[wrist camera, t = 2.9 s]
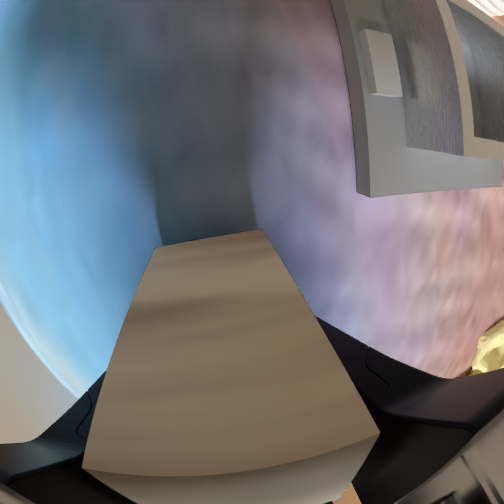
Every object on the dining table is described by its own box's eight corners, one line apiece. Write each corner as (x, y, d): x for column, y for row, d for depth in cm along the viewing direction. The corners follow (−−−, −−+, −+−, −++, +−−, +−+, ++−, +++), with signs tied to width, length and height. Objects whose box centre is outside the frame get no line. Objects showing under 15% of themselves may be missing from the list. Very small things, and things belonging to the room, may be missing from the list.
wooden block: (272, 316, 13) (339, 498, 5) (181, 332, 12) (176, 522, 4) (261, 228, 11) (380, 432, 3) (155, 247, 11) (82, 467, 2)
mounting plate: (489, 182, 13) (507, 188, 11) (356, 192, 12) (377, 201, 10) (470, 25, 8) (487, 22, 7) (321, -29, 7) (335, -45, 6)
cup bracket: (488, 153, 11) (531, 164, 8) (407, 147, 10) (463, 156, 7) (472, 39, 8) (513, 35, 5) (381, 1, 7) (426, -23, 4)
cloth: (454, 412, 30) (470, 435, 25) (397, 426, 25) (417, 461, 19) (531, 305, 24) (554, 324, 18) (510, 274, 18) (548, 301, 13)
